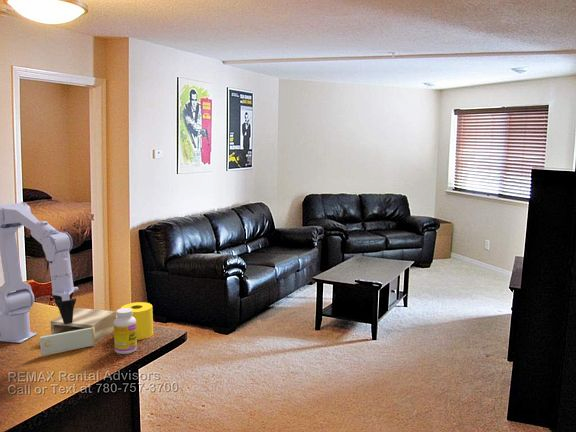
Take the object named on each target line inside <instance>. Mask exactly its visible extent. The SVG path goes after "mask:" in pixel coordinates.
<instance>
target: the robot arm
mask: <svg viewBox="0 0 576 432" xmlns="http://www.w3.org/2000/svg"><path fill="white" fill-rule="evenodd" d="M22 227H25V228H26V229H28V230H30V235H31V237H32V238H34V240H36V241H37V242H38V243H39V244H41V246H42V250H43V253H44V254H45V258H46V261H48V267H49V273H50V274H49V276H50V281H51V282H50V283H51V288H52V289H51V290H52V291H51V294H52V298H53V299H54V304H55V306H57V308H58V311H59V314H60V316H61V317H62V319H63V322H64V324H69V323H72V321H73V310H74V309H75V305H76V302H77V298H76V297H75V298H73V295H74V292H75V291H78V290H79V287H78V286H74V281H73V272H72V263H71V255H70V254H71V253H70V252H71V250H72V249H73V238H72V236H71V235H70V234H69V233H68V231H59V230H57V229H56V228H55V227H54V226H52V225H51V224H50V223H49V222H48V221H47V220H41V221H40V220H39V219H38V218H37V217H36V216H35V215H34V214H33V213H32V210H31V207H30V205H29V204H27V202H24V201H23V202H18V203H17V202H16V203H10V204H7V203H6V204H0V260H1V261H0V262H1V267H2V274H3V281H4V283H3V284H2V285H1V286H0V342H7V343H17V344H21V343H23V342H25V341H26V340H28V339H31V338H32V337H34V336H36V335H37V332H34V331H33V332H32V331H31V324H30V311H31V310H32V307H33V306H34V304H35V295H34V293H33V290H32V286H31V284H30V283H27V282H26V281H23V275H22V270H21V263H20V258H19V257H20V256H19V250H18V244H17V235H16V233H17V231H18V230H19V229H20V228H22Z"/></svg>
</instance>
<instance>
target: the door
mask: <svg viewBox="0 0 576 432" xmlns="http://www.w3.org/2000/svg"><path fill="white" fill-rule="evenodd" d="M39 343H40V346H39V347H40V355H41V357H43V356H48V355H52V354H57V353H63V352H68V351H73V350H78V349H83V348H89V347H93V346H96V344H95V329H94V327H91V328H86V329H80V330H75V331H69V332H64V333H58V334H53V335H51V334H48V335H42V336H40V337H39Z"/></svg>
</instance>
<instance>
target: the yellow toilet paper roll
mask: <svg viewBox="0 0 576 432" xmlns="http://www.w3.org/2000/svg"><path fill="white" fill-rule="evenodd" d="M121 308H131V309H132V312H133V314H132V316H133V317H134V318H135V319H136V332H137V341H140V340H146V339H149V338H150V337H152V336H153V335H154V318H153V317H154V314H153V311H154V309H153V305H152V304H151V303H150V302H143V301H142V302H140V301H138V302H131V303H127V304H124V305H122V306H121V307H120V309H121Z"/></svg>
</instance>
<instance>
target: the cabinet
mask: <svg viewBox="0 0 576 432" xmlns="http://www.w3.org/2000/svg"><path fill="white" fill-rule="evenodd" d="M116 311H117V310H116ZM116 311H115V310H103V309H94V308H93V309H92V308H82V307H74V310H73V321H72V323H69V324H64V322H63V319H62V317H61V315H59V316H57V317H56V318H54V319H52V320H50V333H51V334H50V335H53V334H58V333H64V332H69V331H75V330H80V329H86V328H91V327H94V329H95V343H96V344H98V343H99V342H100V341H102V340H103V339H105V338H107V337H108V336H109V335H111V334H112V333H114V320H115V319H116V318H117V315H116ZM107 335H108V336H107ZM104 337H105V338H104ZM101 339H102V340H101ZM98 341H99V342H98Z"/></svg>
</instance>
